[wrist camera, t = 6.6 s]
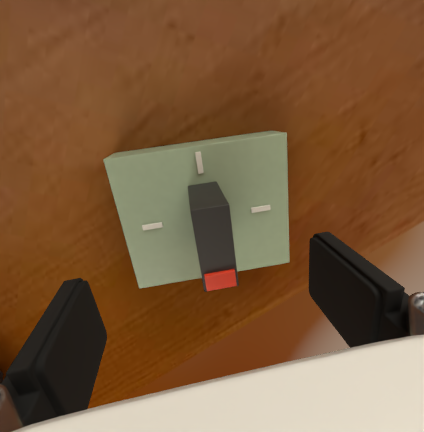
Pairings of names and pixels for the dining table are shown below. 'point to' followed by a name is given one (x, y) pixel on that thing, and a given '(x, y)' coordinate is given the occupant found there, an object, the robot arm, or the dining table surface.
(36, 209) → the dining table surface
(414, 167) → the dining table surface
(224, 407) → the robot arm
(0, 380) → the stone
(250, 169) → the panel
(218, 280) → the knob
